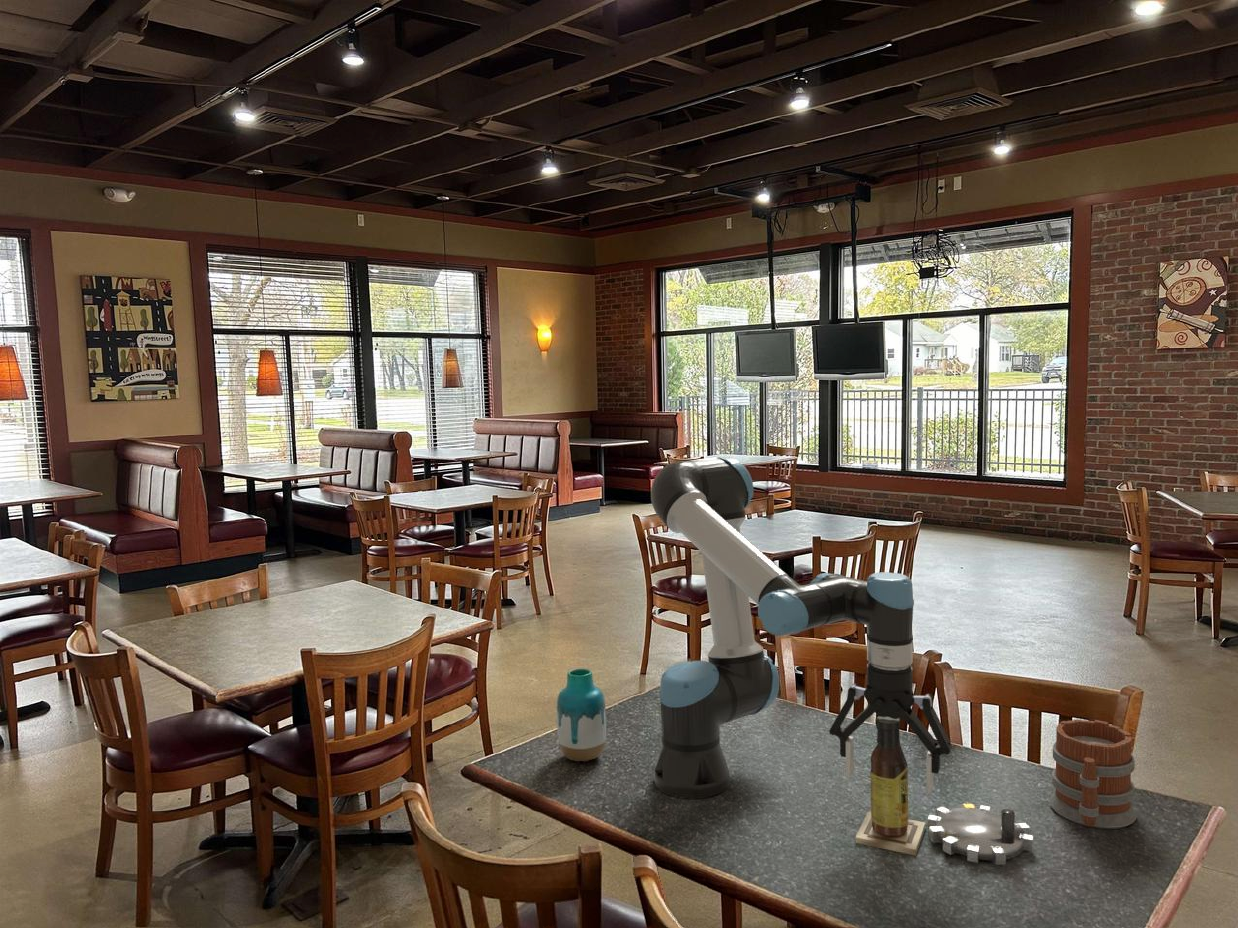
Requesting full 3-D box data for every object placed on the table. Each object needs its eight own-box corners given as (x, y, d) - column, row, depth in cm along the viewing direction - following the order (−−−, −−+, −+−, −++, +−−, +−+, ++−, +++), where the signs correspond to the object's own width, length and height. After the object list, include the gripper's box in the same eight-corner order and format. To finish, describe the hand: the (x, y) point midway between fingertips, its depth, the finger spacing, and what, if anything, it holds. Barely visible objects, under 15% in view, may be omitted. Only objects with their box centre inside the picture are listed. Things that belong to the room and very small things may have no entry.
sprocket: (986, 873, 140) (986, 831, 139) (907, 831, 154) (907, 793, 153) (1049, 842, 148) (1050, 803, 148) (969, 805, 162) (969, 769, 161)
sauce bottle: (910, 840, 150) (909, 727, 148) (872, 837, 151) (871, 726, 150) (906, 821, 156) (905, 713, 155) (869, 818, 158) (868, 711, 156)
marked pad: (855, 842, 152) (855, 836, 152) (868, 816, 161) (868, 810, 160) (915, 855, 147) (915, 849, 147) (925, 827, 156) (925, 821, 156)
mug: (1137, 802, 162) (1138, 724, 161) (1135, 851, 146) (1137, 764, 145) (1052, 787, 170) (1053, 711, 168) (1042, 832, 153) (1043, 749, 152)
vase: (616, 753, 192) (613, 668, 190) (589, 772, 183) (585, 683, 181) (577, 744, 197) (573, 661, 196) (548, 762, 189) (544, 675, 187)
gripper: (812, 660, 154) (812, 776, 156) (964, 680, 142) (962, 806, 144) (823, 648, 160) (823, 759, 162) (969, 666, 148) (967, 786, 151)
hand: (888, 781), depth 153 cm, fingers open, 13 cm apart
